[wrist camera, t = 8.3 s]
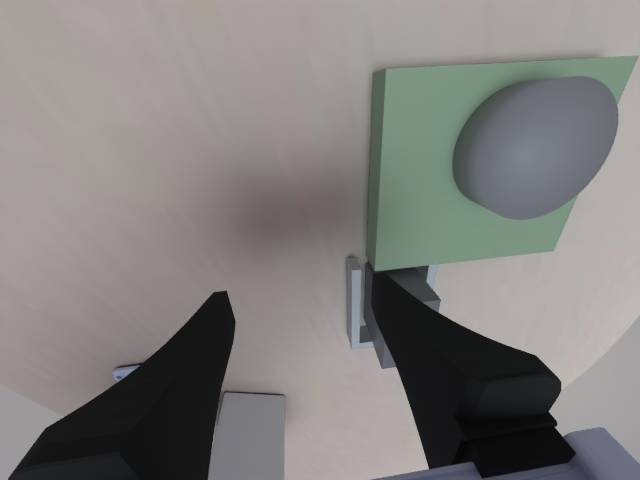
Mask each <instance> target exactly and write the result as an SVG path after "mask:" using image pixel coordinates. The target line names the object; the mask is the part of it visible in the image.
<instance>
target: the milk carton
mask: <svg viewBox="0 0 640 480" xmlns="http://www.w3.org/2000/svg"><path fill="white" fill-rule="evenodd" d="M284 422H285V397H284V396H281V395H263V394H245V393H225V394H224V397H223V402H222V407H221V411H220V416H219V421H218V425H217V430H216V434H215V439H214V444H213V448H212V453H211V458H210V466H209V474H208V480H284Z"/></svg>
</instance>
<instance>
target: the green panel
mask: <svg viewBox="0 0 640 480" xmlns="http://www.w3.org/2000/svg"><path fill="white" fill-rule="evenodd" d="M637 59H638V56H621V57H602V58H583V59H564V60H545V61H526V62H507V63H488V64H469V65H450V66H431V67H412V68H393V69H384V70H382V71H379V72H376V73H373V91H372V118H371V146H370V173H369V200H368V228H367V255H366V256H367V258H368V260H369V262H370V263H371V265H372V267H373V269H374V271H383V270H392V269H401V268H410V267H417V270H418V272H419V273H420V274H421V276H422V277H423V278H424V279H425V281H426V282H427V283H428V284H429V286H430V287H431V288H432V289H433V288H434V283H435V278H436V272H437V267H438V264H445V263H453V262H462V261H471V260H480V259H488V258H497V257H506V256H515V255H523V254H532V253H541V252H550V251H554V249H555V247H556V244H557V242H558V240H559V237H560V235H561V233H562V230H563V228H564V226H565V224H566V221H567V219H568V217H569V214H570V212H571V210H572V208H573V205H574V203H575V201H576V198H577V196H578V194H579V193H580V192H581V191H582V190H583V189H584V188H585V187H586V186H587V185H588V184H589V183H590V181H591V180H592V179H593V178H594V177H595V175H596V174H597V173H598V171H599V170H600V168H601V167H602V165H603V164H604V162H605V160H606V158H607V156H608V154H609V152H610V150H611V148H612V145H613V143H614V139H615V136H616V132H617V126H618V107H617V104H618V102H619V100H620V98H621V95H622V93H623V91H624V88H625V86H626V84H627V82H628V79H629V77H630V75H631V72H632V70H633V68H634V66H635V63H636V61H637ZM360 302H361V268H360V265H359V263H358V261H357V259H356V257H351V258H347V335H348V338H349V342H350V346H351V350H354V349H361V348H369V347H374V345H373V342H372V340H371V337H370V334H369V331H368V329H367V327H360Z"/></svg>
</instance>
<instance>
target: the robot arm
mask: <svg viewBox="0 0 640 480" xmlns="http://www.w3.org/2000/svg"><path fill="white" fill-rule="evenodd" d="M371 307H372V310H373V313H374V317H375V320H376V323H377V325H378V327H379V330H380V332H381V334H382V336H383V338H384V341H385V343H386V345H387V347H388V349H389V351H390V354H391V356H392V358H393V360H394V362H395V365H396V367H397V369H398V372H399V375H400V377H401V380H402V383H403V386H404V389H405V392H406V395H407V398H408V401H409V404H410V407H411V410H412V413H413V416H414V420H415V423H416V426H417V429H418V432H419V436H420V439H421V442H422V446H423V449H424V453H425V456H426V460H427V463H428V467H429V469H428V470H422V471H417V472H411V473H406V474H400V475H394V476H389V477H383V478H377V479H372V480H640V464H639V463H638V462H637V461H636V460H635V459H634V458H633V457H632V456H631V455H630V454H629V453H628V452H627V451H626V450H625V449H624V448H623V447H622V446H621V445H620V444H619V443H618V442H617V441H616V440H615V439H614V438H613V437H612V436H611V435H610V434H609V433H608V432H607V431H606V429H604V428H601V427H599V428H593V429H587V430H581V431H575V432H572V433H569V434H567V435H565V436H564V437H562V436H561V434H560V433H559V432H558V431H557V430H556V429H555V426H557V421H556V420H555V419H554V418H553V417H552V415H551V414H550V413H549V412H548V411H549V410H550V408H551V407H552V405H553V404H554V402H555V401H556V399H557V397H558V396H559V394H560V392H561V381H560V380H559V378H558V377H557V376H556V375H555V374H554V373H553V372H552V371H551V370H550V369H549V368H548V367H547V366H546V365H545V364H544V363H543V362H542V361H541V360H540V359H539V358H538V357H537V356H535V355H532V354H530V353H527V352H524V351H521V350H518V349H515V348H512V347H509V346H507V345H504V344H501V343H499V342H497V341H494V340H492V339H489V338H487V337H485V336H482V335H480V334H478V333H476V332H473V331H471V330H469V329H467V328H465V327H463V326H461V325H459V324H457V323H455V322H454V321H452V320H450V319H448V318H447V317H445V316H443V315H441V314H440V313H438V312H436V311H435V310H433V309H432V308H430V307H429V306H427V305H426V304H424V303H423V302H421V301H420V300H419V299H417V298H416V297H414V296H413V295H412V294H410V293H409V292H408V291H407V290H405V289H404V288H403V287H401V286H400V285H399V284H398V283H397V282H395V281H394V280H393V279H392V278H390V277H389V276H388V275H387V274H385V273H377V274H373V276H372V295H371ZM235 323H236V322H235V318H234V315H233V311H232V308H231V304H230V301H229V297H228V294H227V291H221V292H214V293H213V294H212V295H211V296H210V297H209V298H208V299H207V300H206V302H205V303H204V304H203V305H202V306H201V307H200V308H199V309H198V311H197V312H196V313H195V314H194V315H193V316H192V317H191V318H190V319H189V320H188V322H187V323H186V324H185V325H184V326H183V327H182V328H181V329H180V330H179V331H178V332H177V333H176V334H175V335H174V336H173V337H172V338H171V339H170V340H169V341H168V342H167V343H166V344H165V345H163V346H162V347H161V348H160V349H159V350H158V351H157V352H156V353H154V354H153V355H152V356H151V357H150V358H149V359H147V360H146V361H145V362H144V363H142V364H141V365H137V366H130V367H122V368H116V369H114V371H113V372H112V375H113V376H114V378H115V379H116V381H117V382H118V383H116V384H115V385H113V386H112V387H110V388H109V389H108V390H106V391H105V392H103V393H102V394H100V395H99V396H97V397H96V398H94V399H93V400H91V401H90V402H88V403H86V404H85V405H83V406H82V407H80V408H78V409H77V410H75V411H74V412H72V413H70V414H69V415H67V416H65V417H64V418H62V419H60V420H59V421H57V422H56V423H54V424H52V425H50V426H49V427H47V428H46V429H45V430H44V431H43V432H42V434H41V435H40V436H39V438H38V439H37V440H36V442H35V443H34V444H33V446H32V447H31V449H30V450H29V451H28V453H27V454H26V455H25V456H24V458H23V459H22V460H21V462H20V463H19V465H18V466H17V467H16V469H15V470H14V471H13V473H12V474H11V475H10V477H9V479H8V480H208V474H209V466H210V458H211V449H212V442H213V435H214V427H215V420H216V414H217V408H218V402H219V396H220V392H221V387H222V383H223V379H224V376H225V372H226V368H227V364H228V360H229V356H230V353H231V349H232V345H233V339H234V332H235Z"/></svg>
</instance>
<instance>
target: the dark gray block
mask: <svg viewBox="0 0 640 480" xmlns="http://www.w3.org/2000/svg"><path fill="white" fill-rule="evenodd" d="M377 273H385V274H387V275H388V276H389V277H390V278H392V279H393V280H394V281H395V282H397V283H398V284H399V285H400V286H401V287H403V288H404V289H405V290H407V291H408V292H409V293H410V294H412V295H413V296H414V297H416V298H417V299H419V300H420V301H421V302H423V303H424V304H426V305H427V306H429V307H430V308H432V309H433V310H435V311H436V312H438V310H439V306H440V301H441V300H440V298H439V297H438V296H437V295H436V293H435V292H434V291H433V289H432V288H431V287H430V286H429V284H428V283H427V282H426V281H425V279H424V278H423V277H422V276H421V274H420V273H419V272H418V270H417V269H416V268H415V267H410V268H401V269H392V270H383V271H374V269H373V267H372V265H371V263H370V262H366V266H365V295H364V320H365V323H366V326H367V329H368V331H369V334H370V337H371V340H372V342H373V345H374V348H375V351H376V353H377V356H378V359H379V362H380V365H381V367H382V369H385V368H392V367H396V365H395V362H394V360H393V358H392V356H391V354H390V351H389V349H388V347H387V345H386V343H385V341H384V338H383V336H382V334H381V332H380V330H379V327H378V325H377V323H376V320H375V317H374V313H373V310H372V307H371V295H372V276H373V274H377Z"/></svg>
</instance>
